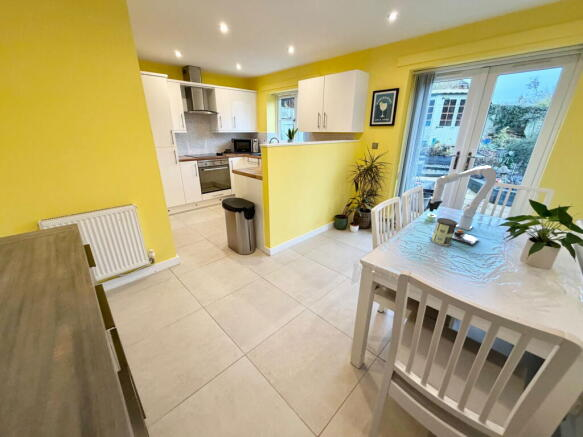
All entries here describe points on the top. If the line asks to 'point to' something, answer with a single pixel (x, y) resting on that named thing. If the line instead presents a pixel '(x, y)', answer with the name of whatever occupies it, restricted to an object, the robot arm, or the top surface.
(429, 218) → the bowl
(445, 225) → the coffee can
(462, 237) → the scale pan
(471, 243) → the scale
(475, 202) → the robot arm
